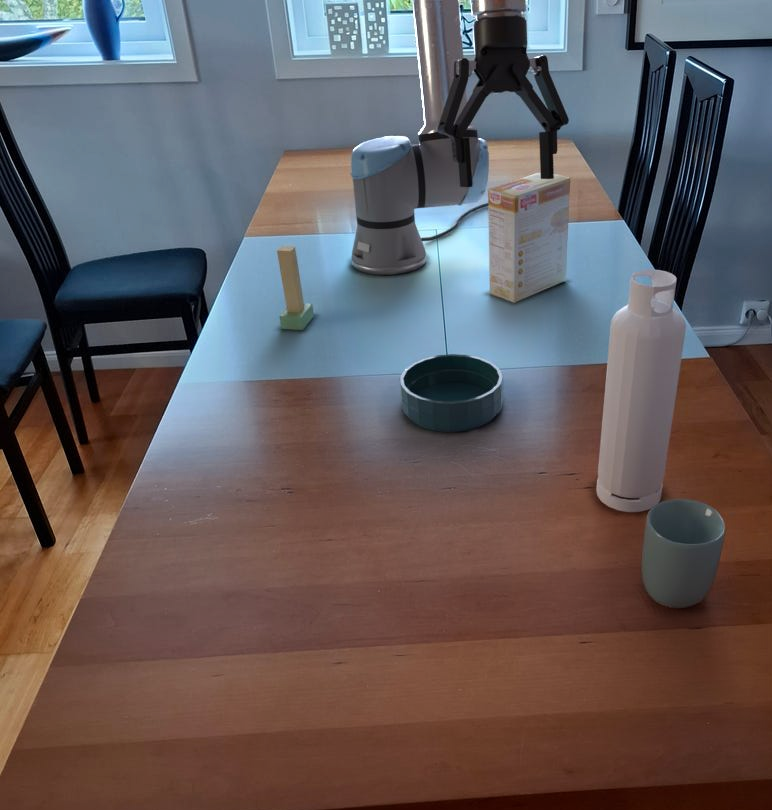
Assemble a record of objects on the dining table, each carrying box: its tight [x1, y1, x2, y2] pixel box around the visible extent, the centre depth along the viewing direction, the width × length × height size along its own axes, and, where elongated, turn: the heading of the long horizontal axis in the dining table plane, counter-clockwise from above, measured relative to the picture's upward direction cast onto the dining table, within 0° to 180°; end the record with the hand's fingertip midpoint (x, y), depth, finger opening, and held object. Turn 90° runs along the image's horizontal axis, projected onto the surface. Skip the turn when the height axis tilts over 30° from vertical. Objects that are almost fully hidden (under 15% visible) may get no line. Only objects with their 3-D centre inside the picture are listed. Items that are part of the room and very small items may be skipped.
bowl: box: [399, 353, 504, 433], centre depth 118 cm, size 15×15×5 cm
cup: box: [640, 498, 726, 609], centre depth 84 cm, size 8×8×10 cm
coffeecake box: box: [487, 171, 571, 304], centre depth 150 cm, size 15×7×20 cm, turn 134°
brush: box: [276, 245, 315, 331], centre depth 140 cm, size 6×4×13 cm, turn 171°
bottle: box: [595, 269, 687, 513], centre depth 93 cm, size 8×8×28 cm
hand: (507, 183), depth 121 cm, fingers open, 13 cm apart
